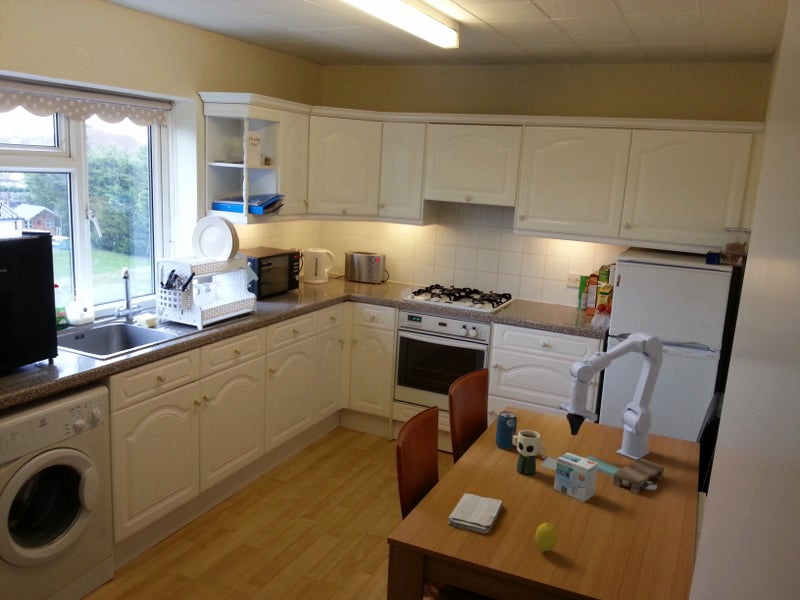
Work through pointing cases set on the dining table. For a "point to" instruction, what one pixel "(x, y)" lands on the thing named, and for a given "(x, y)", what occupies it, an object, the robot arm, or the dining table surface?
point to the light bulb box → (575, 476)
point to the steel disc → (649, 485)
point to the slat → (605, 467)
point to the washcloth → (475, 513)
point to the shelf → (638, 474)
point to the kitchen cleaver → (547, 461)
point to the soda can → (506, 429)
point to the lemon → (546, 537)
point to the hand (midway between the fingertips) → (574, 434)
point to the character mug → (528, 450)
